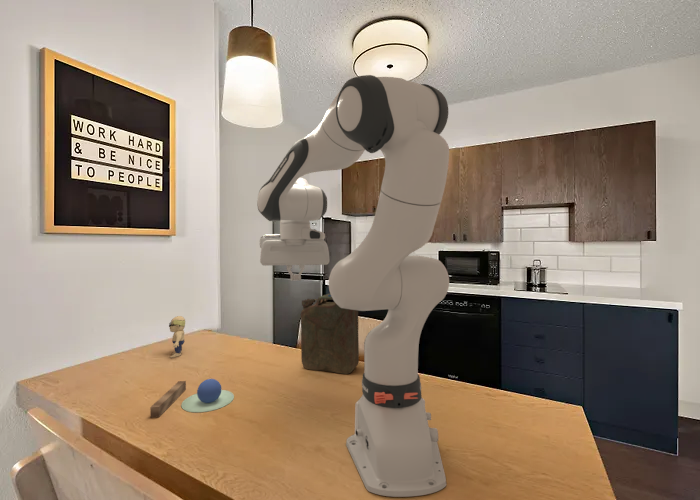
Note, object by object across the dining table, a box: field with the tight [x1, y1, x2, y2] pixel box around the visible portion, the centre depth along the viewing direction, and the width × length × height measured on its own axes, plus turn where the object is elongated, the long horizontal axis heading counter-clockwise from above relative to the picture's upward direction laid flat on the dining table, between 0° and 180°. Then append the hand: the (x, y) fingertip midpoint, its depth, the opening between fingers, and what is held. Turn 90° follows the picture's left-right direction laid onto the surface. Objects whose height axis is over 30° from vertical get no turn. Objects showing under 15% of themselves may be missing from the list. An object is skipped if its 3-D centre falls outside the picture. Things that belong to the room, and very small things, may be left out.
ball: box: [196, 378, 222, 403], centre depth 90 cm, size 6×6×6 cm
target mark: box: [180, 389, 235, 413], centre depth 91 cm, size 13×13×1 cm
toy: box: [168, 315, 186, 358], centre depth 130 cm, size 13×6×15 cm, turn 17°
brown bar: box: [149, 380, 187, 418], centre depth 90 cm, size 16×2×2 cm, turn 4°
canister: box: [300, 293, 360, 375], centre depth 114 cm, size 19×8×25 cm, turn 70°
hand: (295, 280), depth 100 cm, fingers closed
